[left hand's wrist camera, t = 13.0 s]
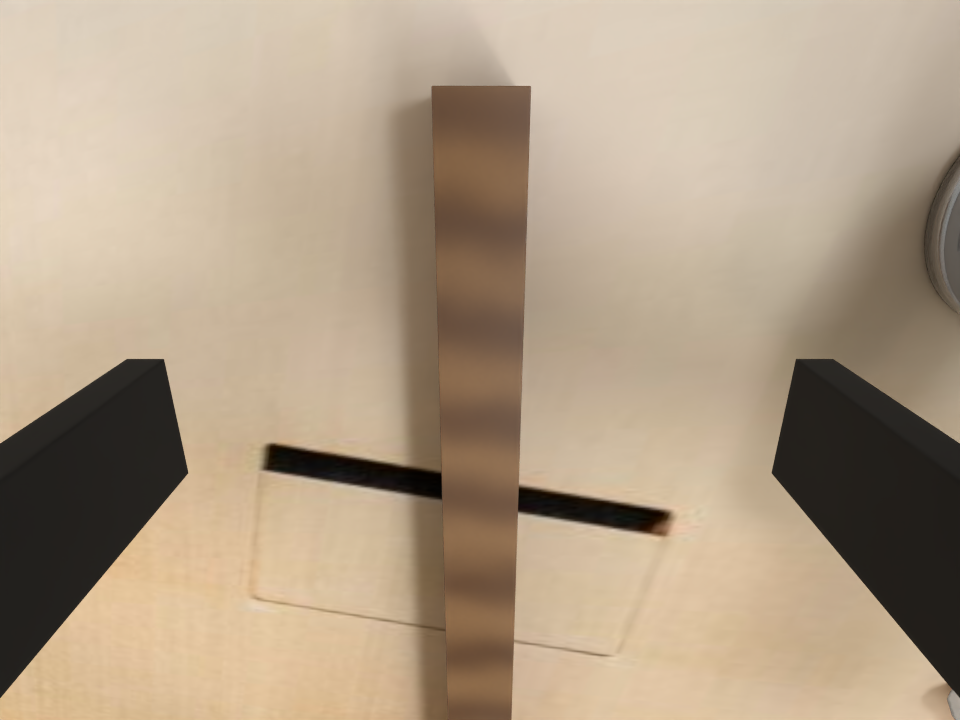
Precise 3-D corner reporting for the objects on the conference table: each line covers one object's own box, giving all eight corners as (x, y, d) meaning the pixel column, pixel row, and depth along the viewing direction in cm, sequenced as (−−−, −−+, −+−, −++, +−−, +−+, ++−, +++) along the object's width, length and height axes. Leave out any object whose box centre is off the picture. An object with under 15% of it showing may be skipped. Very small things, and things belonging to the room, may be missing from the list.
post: (441, 93, 35) (431, 85, 28) (520, 93, 35) (531, 86, 28) (458, 907, 66) (455, 1002, 59) (500, 907, 66) (502, 1002, 59)
